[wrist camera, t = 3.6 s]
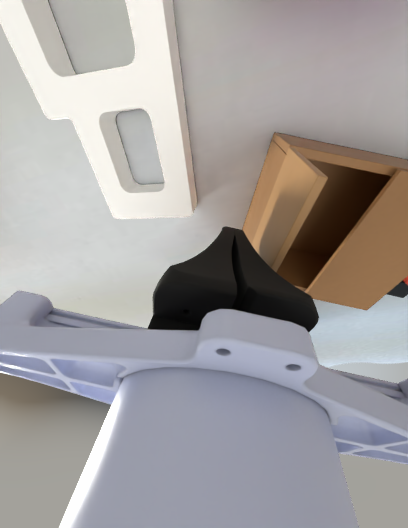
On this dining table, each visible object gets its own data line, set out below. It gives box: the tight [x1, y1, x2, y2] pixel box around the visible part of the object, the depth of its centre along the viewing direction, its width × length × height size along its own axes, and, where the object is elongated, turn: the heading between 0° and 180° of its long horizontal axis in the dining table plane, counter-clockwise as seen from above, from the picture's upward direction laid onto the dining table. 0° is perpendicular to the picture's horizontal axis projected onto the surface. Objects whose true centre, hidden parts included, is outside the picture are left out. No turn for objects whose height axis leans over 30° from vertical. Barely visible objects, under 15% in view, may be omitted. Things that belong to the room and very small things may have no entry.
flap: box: [251, 147, 328, 272], centre depth 12 cm, size 6×11×1 cm
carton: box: [242, 132, 408, 310], centre depth 17 cm, size 12×11×8 cm
